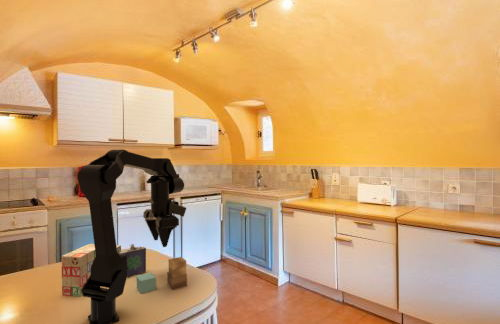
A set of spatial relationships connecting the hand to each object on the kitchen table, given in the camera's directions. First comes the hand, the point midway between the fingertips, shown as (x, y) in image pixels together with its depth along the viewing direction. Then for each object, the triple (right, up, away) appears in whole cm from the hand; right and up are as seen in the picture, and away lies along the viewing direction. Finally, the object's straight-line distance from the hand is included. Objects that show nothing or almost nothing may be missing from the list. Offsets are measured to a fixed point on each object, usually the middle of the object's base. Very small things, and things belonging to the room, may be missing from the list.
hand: (160, 243), depth 98 cm
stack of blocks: (-22, -13, +1) cm, 26 cm away
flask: (-12, -13, +7) cm, 19 cm away
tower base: (-3, -13, -4) cm, 14 cm away
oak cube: (+6, -9, -2) cm, 11 cm away
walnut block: (+6, -13, -2) cm, 15 cm away
